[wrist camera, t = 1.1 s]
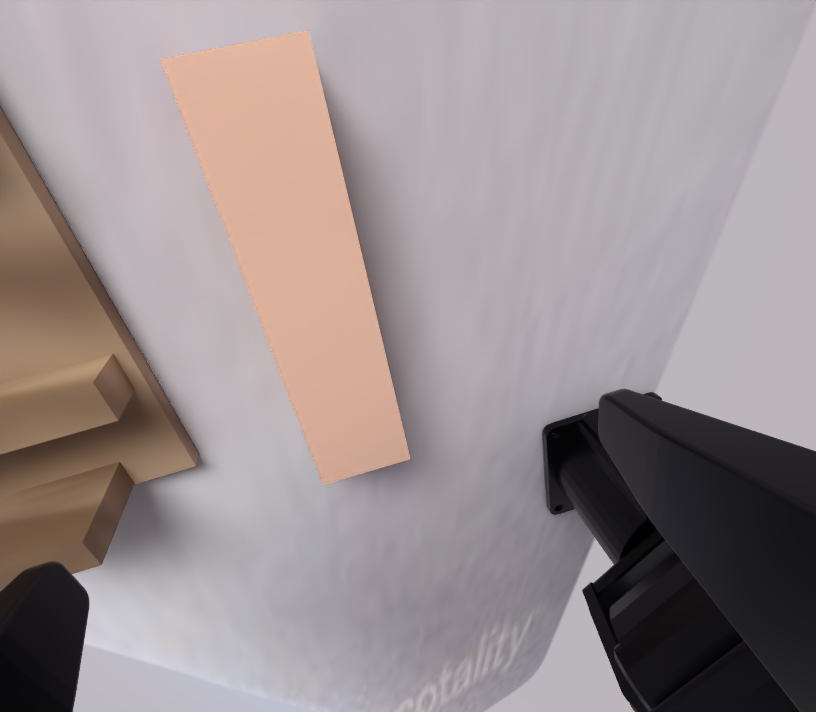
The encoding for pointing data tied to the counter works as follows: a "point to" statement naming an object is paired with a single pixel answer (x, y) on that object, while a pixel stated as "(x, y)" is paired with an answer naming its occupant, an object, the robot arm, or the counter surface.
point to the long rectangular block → (294, 240)
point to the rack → (67, 389)
